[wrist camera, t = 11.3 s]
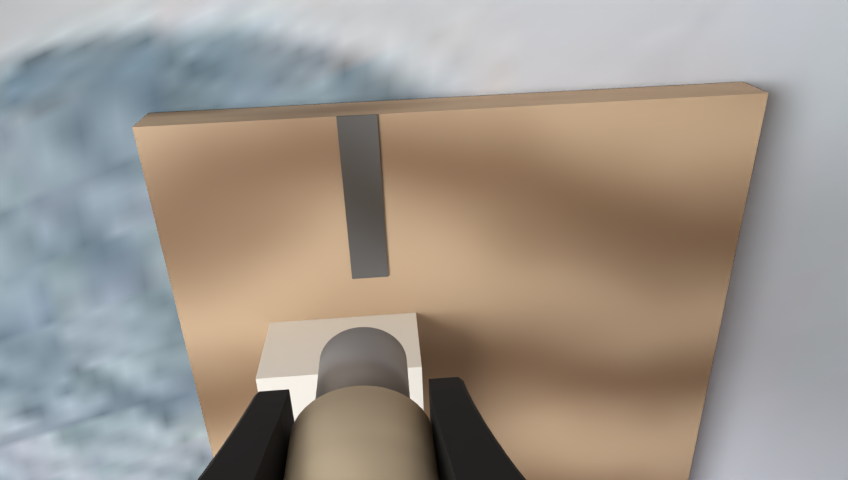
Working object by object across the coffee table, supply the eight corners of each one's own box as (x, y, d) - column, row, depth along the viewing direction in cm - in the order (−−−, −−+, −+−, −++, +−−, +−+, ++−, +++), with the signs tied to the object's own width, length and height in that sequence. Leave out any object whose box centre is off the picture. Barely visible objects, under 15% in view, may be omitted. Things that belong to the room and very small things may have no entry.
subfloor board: (662, 512, 30) (676, 542, 29) (249, 548, 29) (242, 580, 28) (743, 81, 21) (769, 93, 20) (148, 113, 20) (131, 127, 19)
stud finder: (423, 480, 26) (430, 549, 23) (298, 490, 26) (289, 561, 23) (415, 312, 22) (422, 369, 19) (269, 322, 22) (254, 382, 19)
